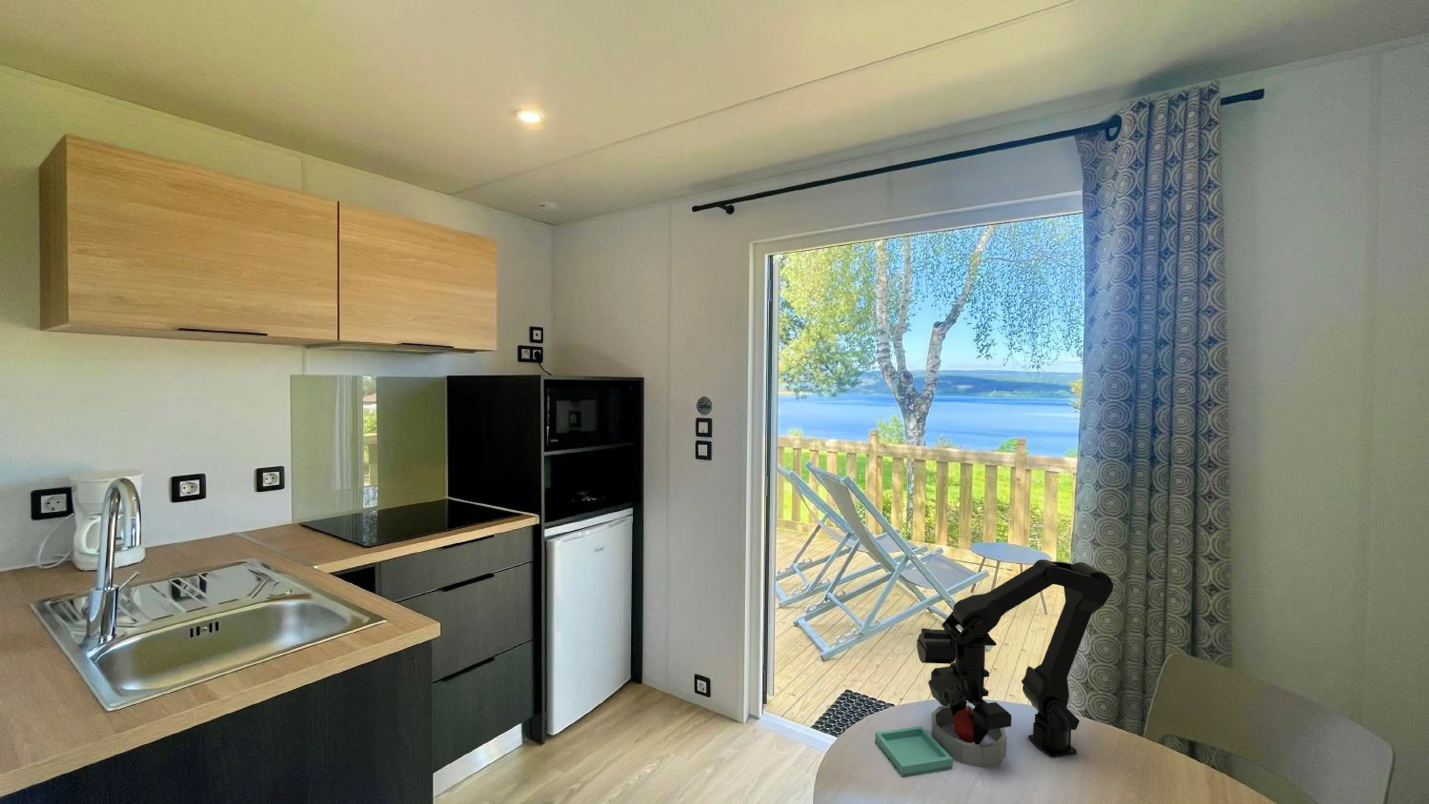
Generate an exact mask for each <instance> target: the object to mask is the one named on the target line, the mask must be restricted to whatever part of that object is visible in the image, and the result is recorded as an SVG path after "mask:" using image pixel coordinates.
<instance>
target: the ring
mask: <svg viewBox="0 0 1429 804" xmlns="http://www.w3.org/2000/svg"><path fill="white" fill-rule="evenodd" d="M970 707H971V710H972V711H973V709H974V708H975V707H973V706H970ZM953 719H954V718H953V715H952V711H951V708H950V705H948V706H942V705H939V706H938V707H937V708H935V710H933V711H932V712H931V713H930V735H931V736H932V737H933V738H934V739H935V740H936V741H937V742H938V744H939V745H940V746H941V747H942V748H943V749H944V750H945V751H946V752H947V753H948V754H949V755H950V756H951V757H952V758H953V760H955V761H957V762H959V763H960V764H963V765H969V766H975V767H979V768H986V767H991V766H997V765H999V764H1001V762H1002V761H1003V760H1004V759H1005V758H1006V756H1007V737H1008V736H1007V734H1006V731H1005V728H998V729H992V730H989V731H988V733H987V734H986V735H988V736H989V737H990V738H991V739H992V740H994V742H993V743H986V744H975V743H967V742H964V741H962V740H961V739H958V738H957V737H954V736H953V735H949V734H948V733H946V732H945V730H943V729H942V727H943V726H942V725H944V726H951V725H953Z"/></svg>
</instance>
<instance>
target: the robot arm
mask: <svg viewBox="0 0 1429 804" xmlns="http://www.w3.org/2000/svg"><path fill="white" fill-rule="evenodd" d="M1053 585H1056V586H1059V587H1063V593H1064V599H1065V601H1064V604H1063V607H1062V610H1061V612H1060V615H1059V618H1058V620H1057V622H1056V626H1055V628H1054V631H1053V633H1052V636H1051V639H1050V641H1049V644H1048V647H1047V650H1046V652H1045V654H1044V657H1043V658H1042V659H1043V660H1042V662H1041V664H1039V665H1038V666H1037V665H1036V667H1035V668H1034V667H1032V666H1030V665H1028V666H1027V667H1026V672H1025V675H1024V677H1023V678H1022V679H1021V680H1020V682H1021V683H1022V692H1023V694H1024V696H1025V698H1026V699H1028V701H1029V702H1030V704H1031V706H1032V707H1033V708H1035V710H1036V711H1037V713H1035V714H1034V722H1032V723H1033V724H1032V727H1033V728H1032V734H1028V737H1027V738H1028V739H1029V741H1031V742H1032V743H1033V744H1035V745H1036V746H1037V747H1039V748H1040V750H1041V751H1043V752H1044V753H1045V754H1046V755H1048V756H1049V757H1050V758H1055V757H1063V756H1068V755H1073V754H1077V753H1078V751H1077V749H1076V748H1075V747H1074V746H1072V745H1071V740H1072V731H1076V730H1077V728H1078V726H1079V723H1080V720H1079V718H1077V717H1076V716H1075V714H1074V713H1073V712H1071V709H1069V707H1068V705H1069V698H1070V689H1069V682H1068V678H1069V674H1070V671H1071V669H1072V666H1073V664H1074V662H1075V658H1076V656H1077V654H1078V651H1079V648H1080V646H1081V643H1082V640H1083V639H1084V635H1085V632H1086V630H1087V628H1088V625H1089V622H1090V620H1091V617H1092V615H1093V614H1094V613H1095V612H1096V611H1098V610H1100V609H1101V608H1102V607H1104V606H1105V605H1106V603H1107V601H1108V599H1109V598H1110V596H1111V595H1112V593H1113V590H1114V583H1113V581H1112V578H1111V577H1110V576H1109V575H1108V574H1107V573H1105V572H1103V571H1102V570H1099V569H1098V568H1095V566H1092V565H1090V564H1088V563H1086V562H1082V561H1079V562H1075V563H1068V562H1065V561H1056V560H1053V561H1052V560H1048V559H1045V558H1044V559H1039V560H1037V561H1035V562H1034V564H1033V565H1032V566H1030V567H1028V568H1026V569H1025V570H1024V571H1021V573H1018V574H1017V575H1015V576H1013V577H1012V578H1010V579H1008V580H1007V581H1005V582H1004V583H1002V584H1000V585H999V586H996V587H995V588H993V589H992V590H990V591H987V592H986V593H980V594H973V595H970V596H968V597H966V598H962V599H960V600H958V601H957V602H956V603H955V604H954V605H953V609H952V612H951V613H950V614H949V615H948V616H947V618H946V619H945V620H944V621H943V623H942V624H941V627H942V628H943V629H931V628H926V627H924V628H921V629H920V633H919V634H918V637H917V639H916V649H917V650H916V651H917V655H918V658H919V659H918V660H919V661H920V662H921V663H922V664H939V665H940V664H942V665H943V664H945V665H949V666H941V667H935V668H934V669H932V671H931V672H930V679H929V680H928V683H927V684H928V687H929V690H930V693H931V697H932V698H934V699H935V700H936V701H937V702H938V703H939V704H940V706H948V705H950V708H951V711H952V715H953V718H954V716H955V714H956V713H957V712H958V711H960V710H963V709H965V708H966V706H967V705H968V704H971V705H973V706H974V707H973V708H974V709H973V714H970V715H967V716H968V717H969V718H970V719H971V720H972V721H973V737H974V743H973V744H978V745H981V743H982V742H983V740H984V739H985V737H986V736H987V735H988V734H987V733H988V731H989V730H992V729H998V728H1004V729H1005V728H1009V727H1010V728H1011V727H1012V719H1013V717H1012V715H1011V713H1010V712H1009V711H1008V710H1007V709H1005V708H1004V707H1003V706H1002V705H1000V704H999V703H998V702H997V701H992V702H987V701H985V699H983V698H984V697H989V690H988V689H986V687H985V678H989V677H990V671H988V670H987V669H986V668H985V667H986V647H987V646H988V647H989V646H990V647H991V646H992V647H996V646H997V642H996V641H995V640H994V639H993V638H992V637H991V635H990V634H989V633H990V632H991V631H992V630H993V629H995V628H996V627H997V626H998V624H999V622H1000V620H1002V619H1001V618H1002V617H1003V616H1004V615H1005V614H1006V613H1008V612H1009V611H1011V610H1013V609H1015V608H1017V607H1018V606H1019V605H1022V604H1023V603H1024V602H1026V601H1028V600H1029V599H1031V598H1032V597H1034V596H1036V595H1038V594H1039V593H1041V592H1043V591H1044V590H1047V589H1048V588H1049V587H1050V586H1053ZM957 626H959V627H960V628H961V629H962V630H961V631H960V630H959V628H958V627H957Z"/></svg>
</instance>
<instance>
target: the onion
mask: <svg viewBox="0 0 1429 804" xmlns="http://www.w3.org/2000/svg"><path fill="white" fill-rule="evenodd" d="M971 707H972V706H970V705H968V704H967V705H966V708H965V709H963V710H960V711H958V712H957V713H956V714H955V716H954V719H953V724H952V727H953V731H954V734H956V736H957V737H958V738H959V740H960V741H962V742H967V743H973V744H975V743H974V737H973V721H972V720H971V719H970V718H969V717H968V716H967V715H970V714H973V711H972V710H971Z"/></svg>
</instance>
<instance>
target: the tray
mask: <svg viewBox="0 0 1429 804" xmlns="http://www.w3.org/2000/svg"><path fill="white" fill-rule="evenodd" d="M874 733H875V735H874V736H875V737H874V738H875V740H874V742H875V744H876V745H877V746H878V747H879V749H880V750H881V751H882V753H883V754H884V755H885V757H886V758H887V760H889V762H890V763H891V764H892V766H893V768H894V769H895V770H896V771H897V772H898V774H899V775H900V776H901V778H905V777H912V776H917V775H923V774H929V773H935V772H941V771H942V772H943V771H948V770H953V766H954V765H953V764H954V763H953V762H954V761H953V760H954V759H953V758H952V757H951V756H950V755H949V754H948V753H947V752H946V751H945V750H944V749H943V748H942V747H941V746H940V745H939V744H938V742H937V741H936V740H935V739H934V738H933V737H932V736H931V733H929V732H928V731H927V729H926V728H925V727H924V726H923V725H919V726H911V727H905V728H904V727H903V728H898V729H889V730H883V731H875V732H874Z"/></svg>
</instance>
